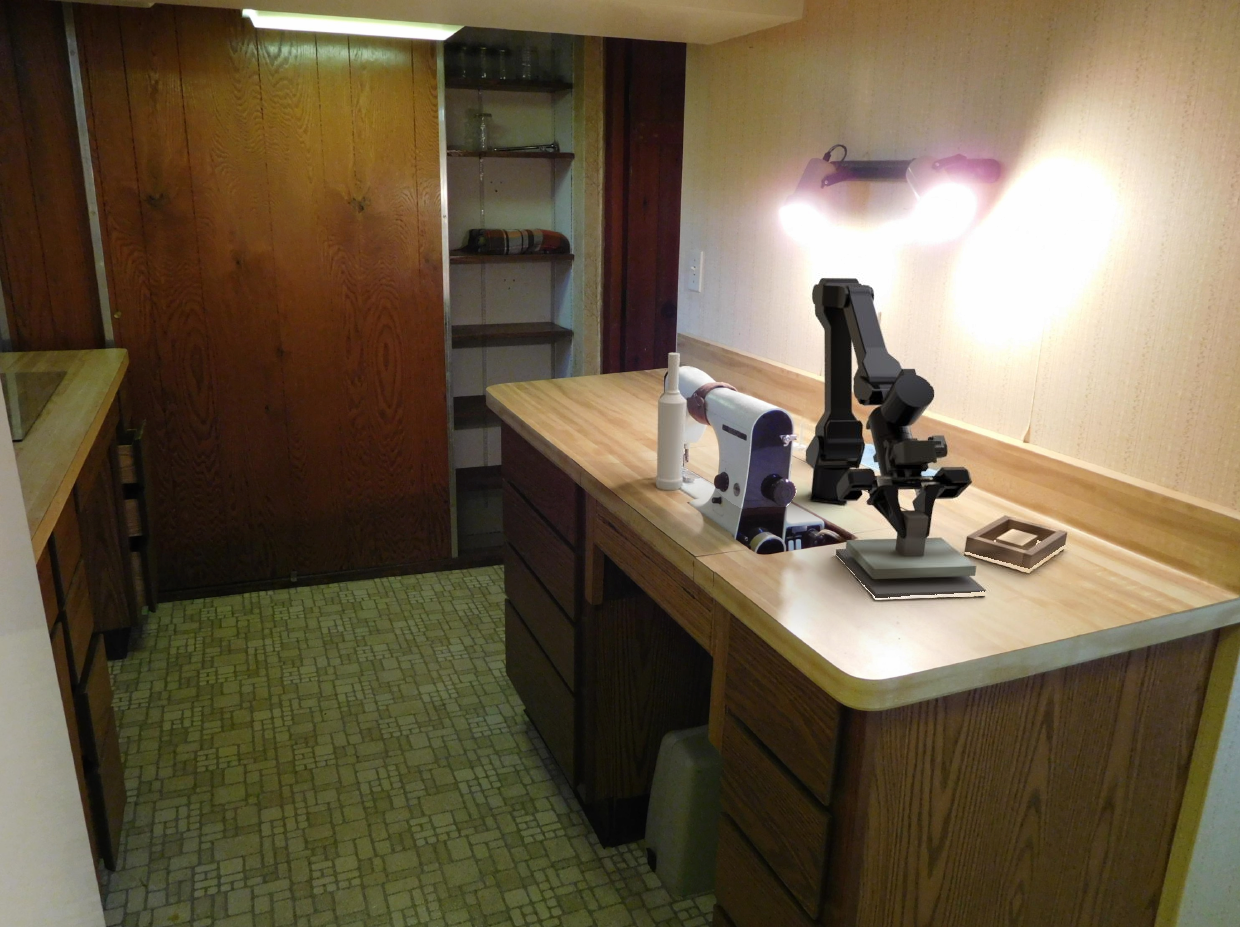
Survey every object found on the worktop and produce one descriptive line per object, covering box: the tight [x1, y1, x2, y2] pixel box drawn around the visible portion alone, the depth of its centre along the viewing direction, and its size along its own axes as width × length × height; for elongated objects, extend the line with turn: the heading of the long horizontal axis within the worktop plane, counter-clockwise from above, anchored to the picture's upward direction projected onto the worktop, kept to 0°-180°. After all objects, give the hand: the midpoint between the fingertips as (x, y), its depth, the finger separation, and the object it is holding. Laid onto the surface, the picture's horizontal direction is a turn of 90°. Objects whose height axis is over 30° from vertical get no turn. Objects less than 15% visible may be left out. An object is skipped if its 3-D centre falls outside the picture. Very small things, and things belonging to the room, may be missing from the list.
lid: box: [845, 509, 977, 579], centre depth 134 cm, size 11×15×8 cm
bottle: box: [654, 352, 688, 492], centre depth 169 cm, size 5×5×25 cm
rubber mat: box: [835, 548, 987, 598], centre depth 136 cm, size 16×16×1 cm
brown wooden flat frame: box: [964, 514, 1068, 569], centre depth 145 cm, size 10×14×3 cm
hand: (915, 537), depth 133 cm, fingers closed on lid, 3 cm apart
